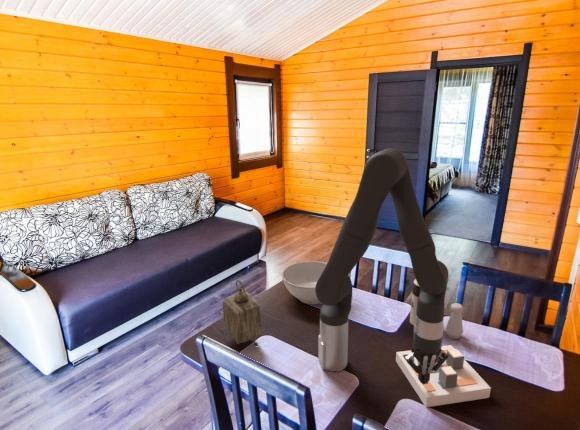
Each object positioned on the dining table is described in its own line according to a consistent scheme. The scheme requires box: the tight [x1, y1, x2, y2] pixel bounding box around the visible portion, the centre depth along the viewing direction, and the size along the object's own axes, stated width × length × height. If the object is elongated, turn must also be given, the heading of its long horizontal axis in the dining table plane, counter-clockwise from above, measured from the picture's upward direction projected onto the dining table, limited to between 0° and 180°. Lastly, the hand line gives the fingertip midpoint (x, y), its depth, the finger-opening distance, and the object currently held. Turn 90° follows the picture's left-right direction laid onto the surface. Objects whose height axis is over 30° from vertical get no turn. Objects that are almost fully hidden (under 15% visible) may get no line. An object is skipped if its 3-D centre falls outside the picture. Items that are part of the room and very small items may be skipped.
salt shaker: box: [445, 302, 465, 340], centre depth 132 cm, size 6×6×13 cm
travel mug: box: [409, 278, 420, 326], centre depth 140 cm, size 8×8×18 cm
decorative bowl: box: [281, 260, 328, 305], centre depth 162 cm, size 27×27×12 cm
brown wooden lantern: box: [222, 279, 263, 347], centre depth 130 cm, size 14×9×25 cm, turn 32°
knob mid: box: [446, 349, 465, 370], centre depth 112 cm, size 4×4×5 cm
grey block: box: [438, 366, 458, 388], centre depth 105 cm, size 4×4×5 cm
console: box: [395, 344, 492, 408], centre depth 113 cm, size 20×20×4 cm
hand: (423, 382), depth 104 cm, fingers closed
